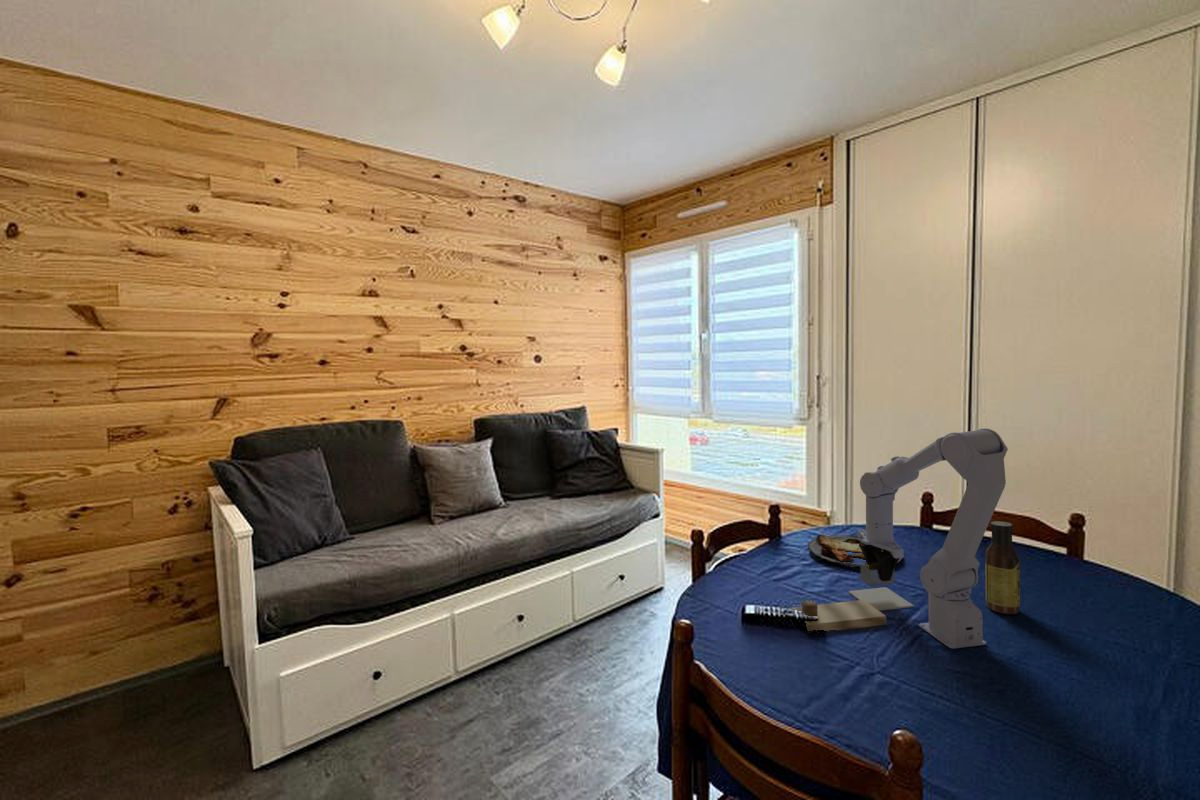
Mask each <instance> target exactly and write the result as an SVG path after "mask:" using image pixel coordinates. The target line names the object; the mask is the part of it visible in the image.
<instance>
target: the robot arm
mask: <svg viewBox="0 0 1200 800" xmlns="http://www.w3.org/2000/svg"><path fill="white" fill-rule="evenodd" d="M1008 450H1009V448H1008V447H1007V445H1006V443H1005V442H1004V440H1003V439H1002V437H1001V436H1000V434H998V432H996V431H995V430H993V429H991V428H980V429H976V430H970V431H969V430H968V431H961V432H950V433H947V434H946V435H944V436H941V437H939V438H937V439H936V440H935V441H933V442H932V443H930V444H929V445H927V446H925V447H924V448H922V449H921V450H920V451H918V452H916V453H915V454H913V455H912V456H910V457H907V456H899V455H897V456H893V457H892V458H890V461H891V462H888V463H887V464H885V465H880V466H878V467H877V470H876V471H874V472H872V471H871V472H869V471H867V472H864V474H863V475H861V477H860V480H859V486H860V490H861V491H862V493H863V494H864V495H865V529H863V528H862V529H857V536H858V538H863V539H862V542H863V543H859V547H860V548H861V550H862V552H863V554H864V557H865V560H866V563H872V562H878V565H879V573H880V578H881V580H882V581H890V580H891V577H892V574H893V571H894V572H895V568H896V566H897V564H898V563H899V562H900V561H899V559H900V558H902V559H903V558H904V557H905V556H904V553H905V552H904V551H905V550H904V549H903V548H902V547H900V546H899V544H898V543H897V542H896V541H895V540H894V513H893V512H894V501H895V500H896V498H895V497H896V493H897V492H898V491H899V489H900V488H902V487H904V486H906V485H908V484H910V483H912V482H914V481H915V480H917V479H918V478H919V476H920V471H922V470H924V469H927V468H929V467H931V466H933V465H935V464H937V463H939V462H944V461H946V462H947V463H948V464H949V465H950V466H951V468H953V469H954V470H955V472H957V473H958V475H960V477H961V478H962V479H963V480H964V481H966V482H967V486H966V489H965V491H964V494H963V496H962V497H961V498H962V499H961V501H960V504H959V506H958V509H957V511H956V514H955V516H954V519H953V521H952V523H951V525H950V528H949V530H948V532H947V535H946V538H945V540H944V542H943V546H942V548H940V549H939V550H938V551H936V552H935V553H934V554H933V555H932V556H931V557H930V559H929V561H928V563H926V564H925V565H923V566H922V567H921V569H920V571H919V579H920V581H921V584H922V586H923V587H924V588H925V590H926V593H928V622H920V623H918V626H919V627H920V628H921V629H922V630H924V631H925V632H927V633H928V634H929V635H930V636H932V637H934V638H935V639H936V640H938V641H939V642H941V643H942V644H944V646H947V647H948V648H950V649H960V648H968V647H977V646H978V647H979V646H985V645H987V641H986V640H984V637H983V636H984V635H983V634H984V633H983V630H984V629H983V627H984V626H983V625H984V624H983V623H984V620H983V619H984V618H983V613H982V611H981V609H980V608H979V607H978V606H977V605H976V604H974V603H973V601H972V599H971V597H970V596H971V595H970V594H972V588H975V587H976V586H977V584H978V581H979V574H978V573H979V567H980V565H981V564H980V563H981V562H979V560H978V559H977V557H975V556H976V553H977V551H978V549H979V547H980V545H981V542H982V540H983V538H984V536H985V533H986V531H987V528H988V526H989V524H990V523H991V520H992V517H993V515H994V512H995V510H996V508H997V506H998V503H999V501H1000V499H1001V496H1002V494H1003V492H1004V489H1005V487H1006V483H1007V482H1006V468H1005V456H1006V454H1007V451H1008ZM882 551H883V552H882ZM898 561H899V562H898Z"/></svg>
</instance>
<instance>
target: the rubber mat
mask: <svg viewBox="0 0 1200 800" xmlns="http://www.w3.org/2000/svg"><path fill="white" fill-rule="evenodd" d="M848 594H849V595H851V596H852V597H853V598H855V599H857V600H865V601H866V602H868V603H869V604H871V605H872V606H873V607H875V608H876V609H877V610H879V611H880V612H882V611H889V610H899V609H906V608H907V609H909V608H914V604H912V603H911V602H909V601H908V600H906V599H905V598H903V597H901V596H900V595H899V594H897V593H895V592H894V591H893V590H891V589H889V588H888V587H887V586H884V587H883V586H882V587H877V588H876V587H875V588H874V587H873V588H866V589H865V588H864V589H856V590H848Z"/></svg>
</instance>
